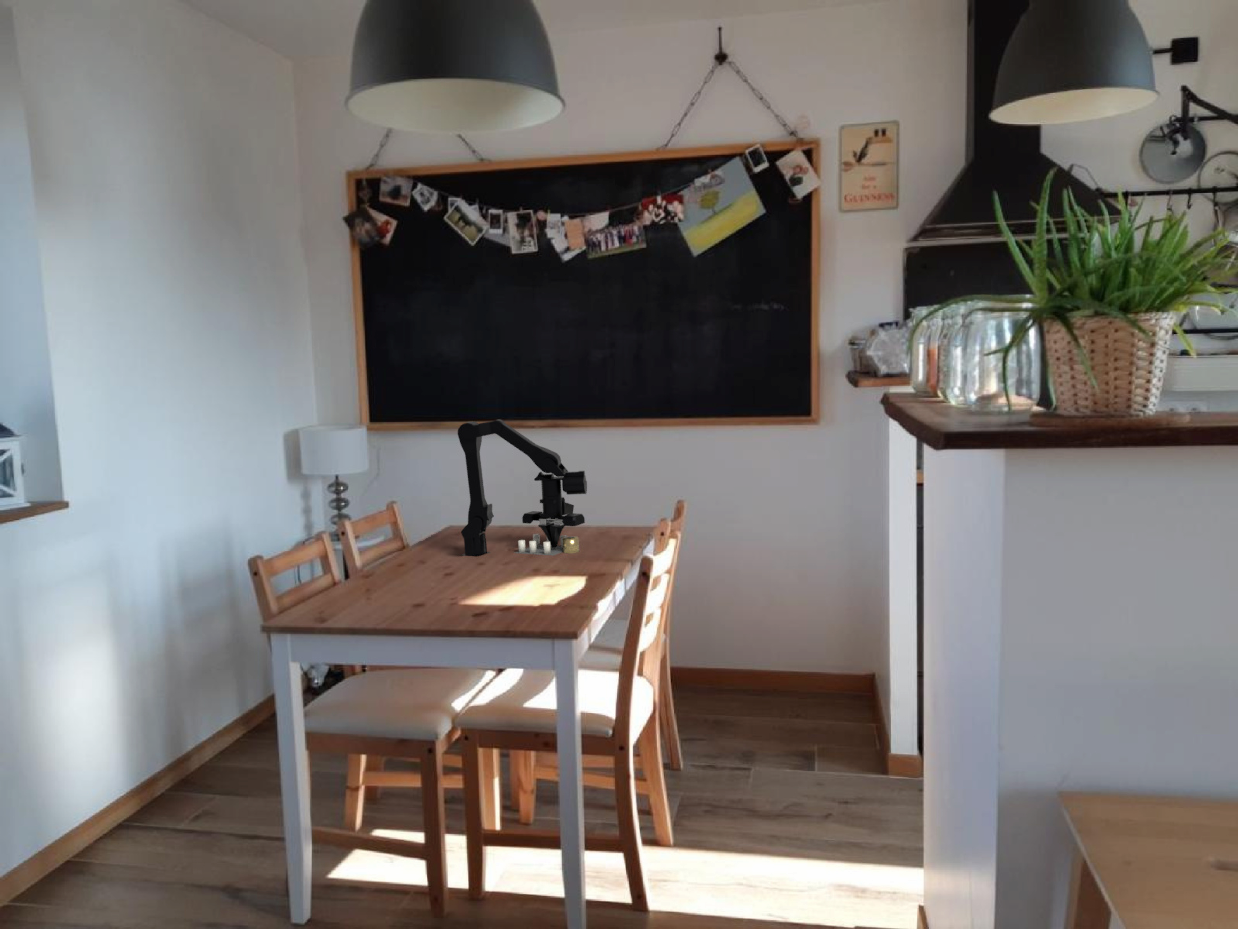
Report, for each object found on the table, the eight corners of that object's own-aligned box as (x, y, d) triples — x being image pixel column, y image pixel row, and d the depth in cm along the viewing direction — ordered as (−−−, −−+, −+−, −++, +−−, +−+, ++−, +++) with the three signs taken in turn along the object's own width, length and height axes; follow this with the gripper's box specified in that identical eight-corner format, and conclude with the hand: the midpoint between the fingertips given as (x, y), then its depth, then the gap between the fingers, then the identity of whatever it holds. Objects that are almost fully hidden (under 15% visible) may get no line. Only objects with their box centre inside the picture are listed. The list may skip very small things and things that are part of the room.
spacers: (548, 554, 274) (547, 542, 274) (514, 552, 280) (514, 540, 280) (569, 547, 284) (568, 535, 283) (536, 545, 290) (535, 533, 290)
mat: (553, 556, 273) (553, 555, 273) (513, 554, 280) (513, 552, 280) (575, 548, 283) (575, 547, 283) (537, 545, 290) (537, 544, 290)
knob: (574, 554, 274) (573, 539, 274) (560, 554, 276) (559, 538, 276) (582, 551, 278) (581, 536, 278) (568, 551, 280) (567, 535, 280)
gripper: (593, 492, 280) (595, 544, 282) (541, 490, 289) (544, 540, 291) (572, 497, 270) (575, 551, 272) (519, 495, 280) (522, 547, 282)
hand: (554, 547), depth 280 cm, fingers closed
